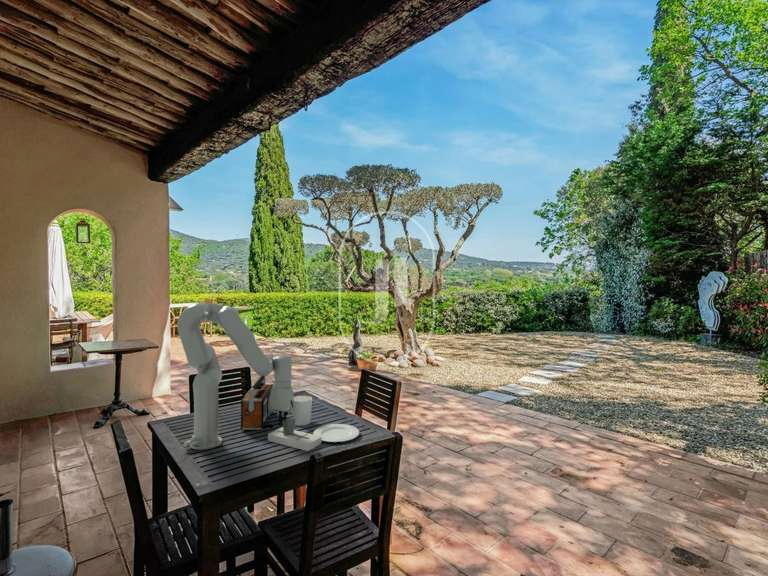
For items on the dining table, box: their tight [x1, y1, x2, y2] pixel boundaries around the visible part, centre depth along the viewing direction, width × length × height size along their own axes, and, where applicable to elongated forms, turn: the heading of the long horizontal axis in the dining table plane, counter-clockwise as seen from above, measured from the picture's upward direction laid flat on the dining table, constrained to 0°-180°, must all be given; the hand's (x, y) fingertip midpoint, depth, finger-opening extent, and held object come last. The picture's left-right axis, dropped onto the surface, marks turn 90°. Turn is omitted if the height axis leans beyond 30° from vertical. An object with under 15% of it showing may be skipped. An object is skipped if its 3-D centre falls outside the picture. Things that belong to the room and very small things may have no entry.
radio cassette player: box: [240, 376, 274, 431], centre depth 199 cm, size 29×10×20 cm, turn 6°
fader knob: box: [282, 417, 295, 435], centre depth 176 cm, size 5×3×6 cm, turn 153°
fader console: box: [267, 426, 323, 452], centre depth 175 cm, size 9×22×3 cm, turn 63°
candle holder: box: [292, 395, 313, 427], centre depth 198 cm, size 10×10×12 cm
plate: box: [313, 423, 360, 444], centre depth 182 cm, size 21×21×2 cm
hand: (282, 424), depth 178 cm, fingers closed
